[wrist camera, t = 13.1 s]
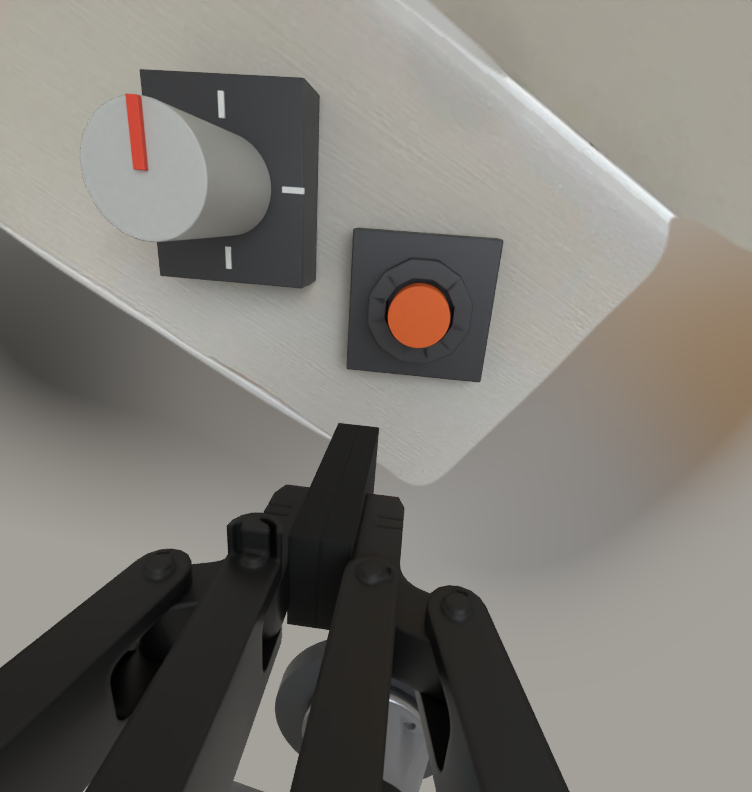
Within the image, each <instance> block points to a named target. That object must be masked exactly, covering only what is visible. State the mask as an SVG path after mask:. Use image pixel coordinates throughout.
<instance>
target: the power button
mask: <svg viewBox="0 0 752 792" xmlns="http://www.w3.org/2000/svg"><path fill="white" fill-rule="evenodd" d="M388 324H389V328H390V330H391V332H392V334H393V335H394V337H395V338H396V339H397V340H398V341H400V342H401V343H402V344H404V345H406V346H409V347H413V348H424V347H428V346H431V345H433V344H435V343H437V342H438V341H439V340H440V339H441V338H442V337H443V336H444V335H445V333H446V332H447V330H448V327H449V324H450V310H449V305H448V302H447V300H446V298H445V296H444V294H443V293H442V292H441V291H440V290H439V289H438V288H436V287H434V286H432V285H430V284H427V283H413V284H410V285H407V286H405V287H404V288H402V289H401V290H400V291H399V292H398V293H397V294H396V295H395V297H394V298H393V300H392V303H391V305H390V307H389V311H388Z"/></svg>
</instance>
